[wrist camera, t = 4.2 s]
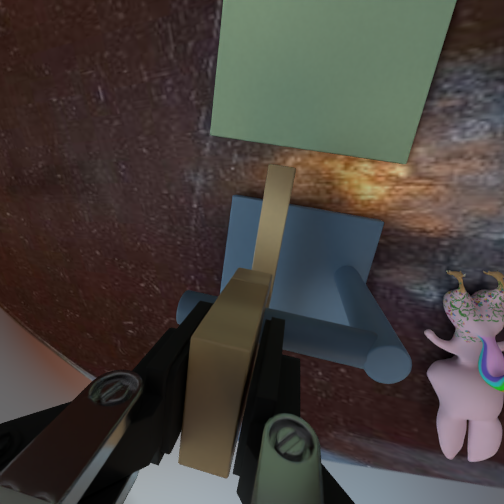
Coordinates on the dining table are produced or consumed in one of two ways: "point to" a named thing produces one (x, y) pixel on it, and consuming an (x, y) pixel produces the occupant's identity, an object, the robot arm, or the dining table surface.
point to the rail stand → (318, 287)
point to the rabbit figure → (471, 371)
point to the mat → (328, 73)
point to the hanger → (232, 342)
